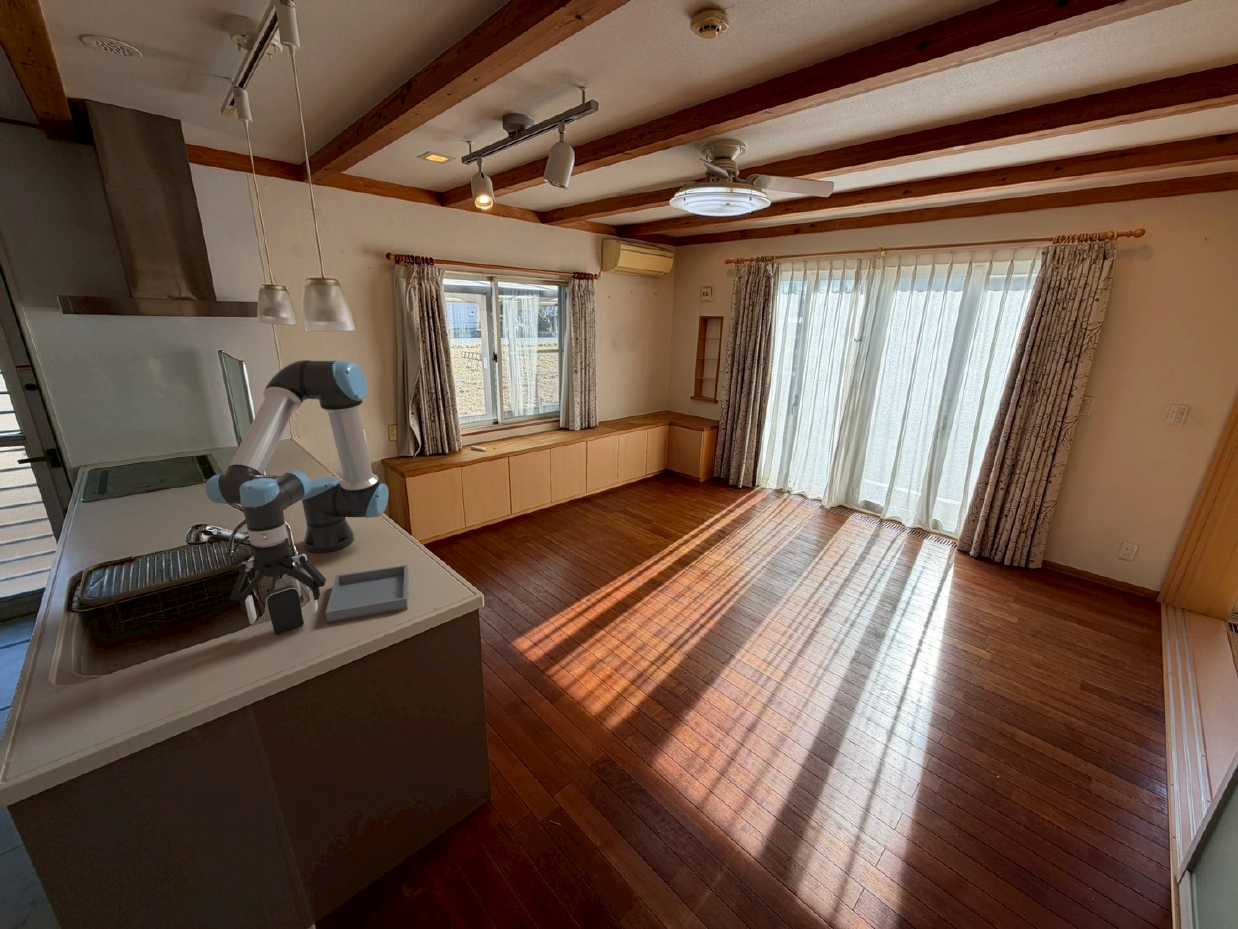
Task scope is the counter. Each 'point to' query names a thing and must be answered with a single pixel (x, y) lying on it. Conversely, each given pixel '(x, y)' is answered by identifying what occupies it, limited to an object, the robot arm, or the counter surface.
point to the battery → (284, 609)
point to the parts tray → (368, 594)
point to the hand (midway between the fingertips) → (285, 615)
